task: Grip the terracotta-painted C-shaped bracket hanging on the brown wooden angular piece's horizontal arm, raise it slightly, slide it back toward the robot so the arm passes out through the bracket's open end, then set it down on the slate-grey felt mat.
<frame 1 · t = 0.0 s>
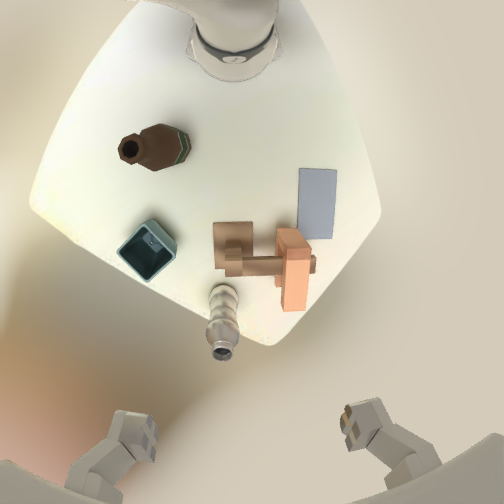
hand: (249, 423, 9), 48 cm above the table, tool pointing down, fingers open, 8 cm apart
flower pot: (156, 238, 56), on the table
brown wooden angular piece: (233, 245, 58), on the table
plastic bottle: (224, 294, 62), on the table
felt mat: (316, 204, 55), on the table
beer bottle: (173, 146, 49), on the table
c link: (285, 256, 55), point 4 cm above the table, touching brown wooden angular piece
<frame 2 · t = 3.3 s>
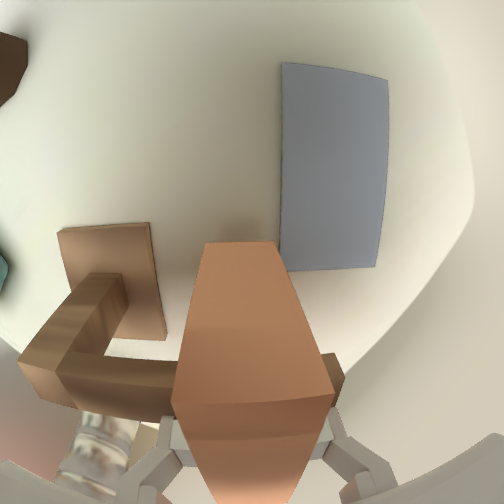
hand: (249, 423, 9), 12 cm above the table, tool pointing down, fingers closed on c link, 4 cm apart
brown wooden angular piece: (113, 283, 20), on the table
plastic bottle: (124, 378, 25), on the table
felt mat: (336, 169, 18), on the table
beer bottle: (5, 73, 12), on the table
c link: (241, 325, 18), point 4 cm above the table, touching gripper, brown wooden angular piece
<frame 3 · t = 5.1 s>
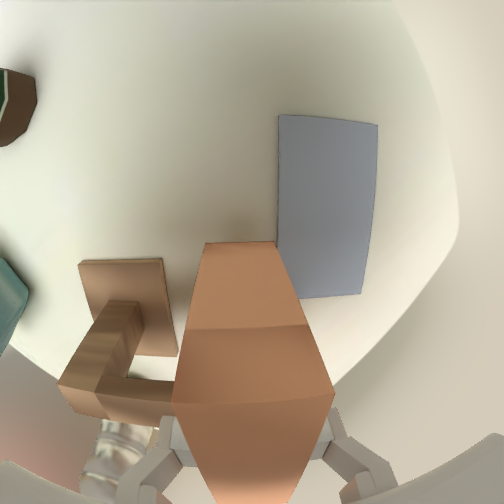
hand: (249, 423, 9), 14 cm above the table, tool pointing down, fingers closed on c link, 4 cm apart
flower pot: (12, 285, 22), on the table
brown wooden angular piece: (130, 308, 23), on the table
plastic bottle: (137, 388, 28), on the table
felt mat: (326, 212, 21), on the table
beer bottle: (15, 108, 15), on the table
c link: (241, 325, 18), point 5 cm above the table, touching gripper
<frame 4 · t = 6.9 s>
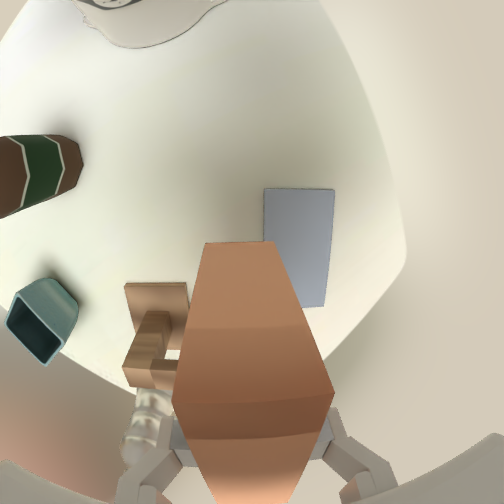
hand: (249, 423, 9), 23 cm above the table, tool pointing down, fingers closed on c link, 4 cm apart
flower pot: (61, 299, 33), on the table
brown wooden angular piece: (161, 316, 34), on the table
plastic bottle: (161, 375, 38), on the table
felt mat: (297, 252, 32), on the table
beer bottle: (61, 165, 26), on the table
c link: (241, 325, 18), point 14 cm above the table, touching gripper
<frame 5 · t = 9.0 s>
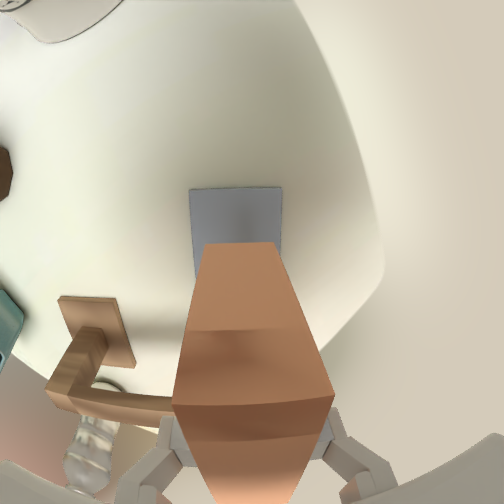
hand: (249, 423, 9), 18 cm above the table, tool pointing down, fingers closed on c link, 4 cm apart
flower pot: (11, 308, 27), on the table
brown wooden angular piece: (98, 331, 28), on the table
plastic bottle: (110, 389, 33), on the table
felt mat: (237, 266, 26), on the table
c link: (241, 326, 18), point 9 cm above the table, touching gripper
when the fingers open (11 cm above the table, at t = 10.6 s): c link drops 1 cm, resting on felt mat.
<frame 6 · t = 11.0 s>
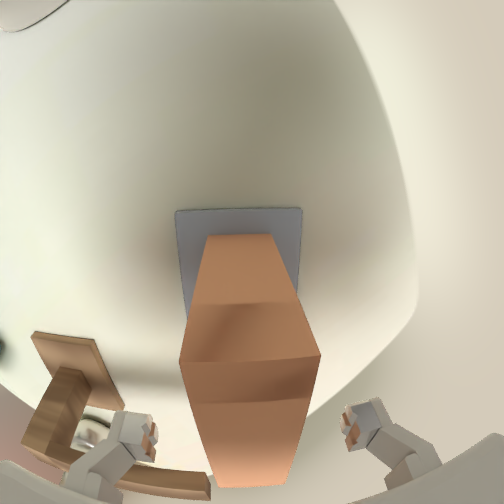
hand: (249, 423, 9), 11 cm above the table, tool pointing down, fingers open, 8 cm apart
brown wooden angular piece: (79, 371, 22), on the table
plastic bottle: (100, 426, 27), on the table
felt mat: (240, 308, 20), on the table
c link: (241, 313, 19), point 1 cm above the table, touching felt mat
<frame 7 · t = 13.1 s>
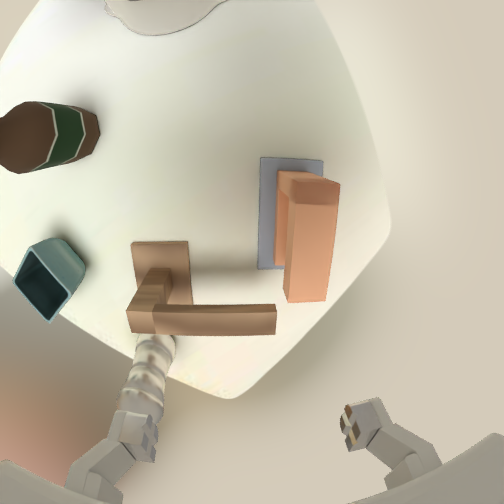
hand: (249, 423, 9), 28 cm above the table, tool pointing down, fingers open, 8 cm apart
flower pot: (68, 261, 36), on the table
brown wooden angular piece: (163, 274, 38), on the table
plastic bottle: (159, 337, 42), on the table
felt mat: (289, 215, 36), on the table
beer bottle: (79, 134, 29), on the table
c link: (290, 216, 35), point 1 cm above the table, touching felt mat
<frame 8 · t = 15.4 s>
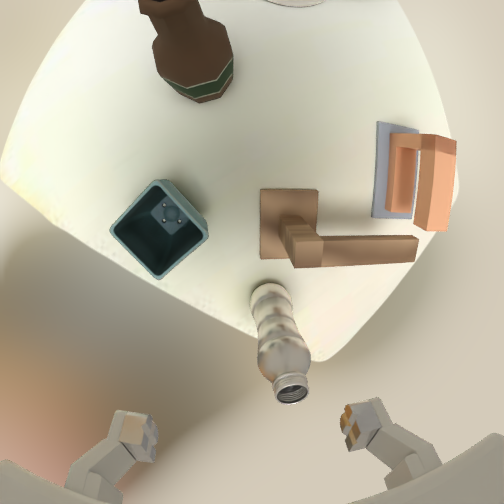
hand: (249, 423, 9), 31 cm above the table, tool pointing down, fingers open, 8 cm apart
flower pot: (172, 213, 37), on the table
brown wooden angular piece: (287, 223, 39), on the table
plastic bottle: (268, 295, 44), on the table
felt mat: (396, 171, 37), on the table
beer bottle: (204, 78, 31), on the table
c link: (398, 172, 36), point 1 cm above the table, touching felt mat
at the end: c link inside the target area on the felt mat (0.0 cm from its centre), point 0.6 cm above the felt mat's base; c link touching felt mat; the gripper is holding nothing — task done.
